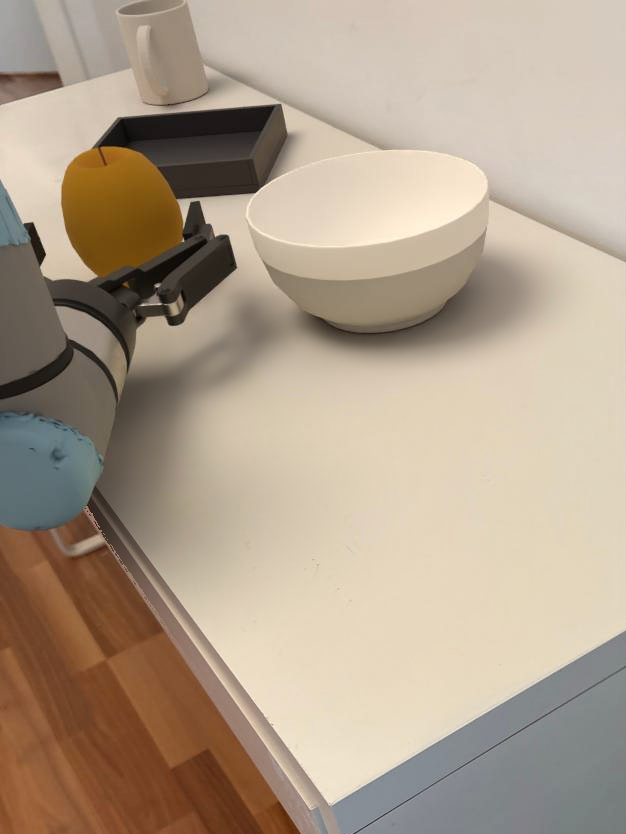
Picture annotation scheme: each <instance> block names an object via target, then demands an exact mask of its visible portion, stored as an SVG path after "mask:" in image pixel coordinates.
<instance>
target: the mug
mask: <svg viewBox="0 0 626 834" xmlns="http://www.w3.org/2000/svg"><path fill="white" fill-rule="evenodd" d="M115 17H116V20H117V24H118V28H119V30H120V33H121V37H122V40H123V43H124V47H125V50H126V54H127V57H128V60H129V63H130V66H131V70H132V73H133V76H134V80H135V83H136V86H137V90H138V93H139V97H140V100H141V102H143V103H145V104H148V105H152V106H169V105H176V104H182V103H186V102H190V101H193V100H195V99H198V98H200V97H202V96H204V94H206V93H208V91H209V89H210V86H209V82H208V79H207V75H206V74H207V73H206V70H205V67H204V63H203V58H202V56H201V52H200V47H199V43H198V39H197V35H196V32H195V27H194V23H193V20H192V16H191V12H190V8H189V4H188V1H187V0H135V1H132V2H129V3H126V4H123V5H121V6H119V7H118V8H117V9H116V10H115ZM168 104H169V105H168Z"/></svg>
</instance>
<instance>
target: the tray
mask: <svg viewBox="0 0 626 834" xmlns="http://www.w3.org/2000/svg"><path fill="white" fill-rule="evenodd" d="M287 129H288V128H287V123H286V119H285V114H284V109H283V105H282V103H272V104H261V105H248V106H236V107H235V106H234V107H226V108H225V107H223V108H213V109H212V108H211V109H201V110H190V111H188V110H187V111H178V112H177V111H176V112H165V113H153V114H142V115H141V114H140V115H129V116H118V117H117V118H116V119H115V120H113V123H112V124H111V125H110V126H109V127H108V128H107V130H106V131H105V132H104V133H103V134H102V136H101V137H100V138H99V139H98V140H97V141H96V142H95V144H94V145H93V146H92V147H91V148H90V150H91V149H94V148H99V147H121V148H127V149H130V150H133V151H136V152H139V153H142V154H143V155H144V156H145V157H146V158H147V159H148V160H149V161H150V162H151V163H153V164H154V165H155V166H156V167H157V169H158V170H159V171H160V173H161V174H162V175H163V177H164V178H165V179H166V181H167V182H168V184H169V186H170V188H171V190H172V192H173V194H174V196H175V198H176V200H178V199H189V198H197V197H198V198H201V197H214V196H228V195H240V194H252V193H253V194H255V193H257V192H258V191H259V190H260V189H261V188H262V187H264V186H265V185H266V181H267V179H268V178H269V175H270V173H271V171H272V168H273V167H274V164H275V162H276V160H277V158H278V156H279V154H280V151H281V149H282V147H283V145H284V143H285V141H286V138H287V137H288V130H287Z"/></svg>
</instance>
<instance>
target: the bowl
mask: <svg viewBox="0 0 626 834" xmlns="http://www.w3.org/2000/svg"><path fill="white" fill-rule="evenodd" d="M489 217H490V183H489V180H488V178H487V176H486V173H485V172H484V171H483V170H482V169H481V168H480V167H478V166H477V165H476V164H474V163H473V162H470V161H469V160H467V159H465V158H461V157H458V156H455V155H452V154H449V153H448V154H447V153H443V152H437V151H433V150H420V149H419V150H418V149H386V150H385V149H384V150H371V151H364V152H356V153H349V154H345V155H341V156H340V155H339V156H335V157H331V158H326V159H322V160H319V161H315V162H312V163H309V164H305V165H302V166H301V167H298V168H295V169H293V170H290V171H288V172H286V173H283V174H281V175H280V176H278V177H275V178H274V179H272V180H271V181H269V182H268V183H265V184H264V186H263V187H262V188H261V189H260V190H259V191H258V192H255V193H254V195H252V197H251V198H250V199H249V201H248V203H247V205H246V207H245V222H246V224H247V227H248V231H249V234H250V236H251V239H252V243H253V246H254V249H255V251H256V253H257V255H258V257H259V258H260V260H261V261H262V263H263V266H264V267H265V269H266V271H267V273H268V275H269V277H270V279H271V280H272V283H273V284H274V285H275V286H276V287H277V288H278V289H279V290H281V291H282V292H283V294H285V295H286V296H287V297H288V298H289V299H290V300H291V301H292V302H293V303H294V304H296V305H297V306H298V307H299V308H300V309H301V310H302V311H305V312H307V313H308V314H310V315H313V316H315V317H317V318H321V319H322V320H324V322H325V323H327V324H328V325H330V326H332V327H334V328H336V329H339V330H342V331H344V332H345V331H346V332H352V333H360V334H361V333H362V334H378V333H379V334H380V333H388V332H393V331H399V330H403V329H408V328H410V327H413V326H416V325H419V324H421V323H423V322H425V321H427V320H429V319H431V318H433V317H434V316H435V315H437V314H438V313H439V312H440V311H441V310H442V309H443V308H444V307H445V306H446V304H447V302H448V300H449V299H451V298H452V297H453V296H455V295H456V294H458V293H459V292H460V291H461V289H462V288H463V287H465V285H466V284H467V282H468V280H469V278H470V276H471V274H472V273H473V271H474V269H475V268H476V266H477V264H478V262H479V260H480V259H481V257H482V255H483V254H484V253H483V252H484V248H485V242H486V236H487V230H488V225H489Z"/></svg>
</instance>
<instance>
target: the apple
mask: <svg viewBox="0 0 626 834" xmlns="http://www.w3.org/2000/svg"><path fill="white" fill-rule="evenodd" d="M60 190H61V192H60V193H61V194H60V207H61V212H62V217H63V223H64V229H65V232H66V235H67V237H68V240H69V242H70V245H71V247H72V248H73V250H74V251H75V253H76V254H77V256H78V257H79V258H80V260H81V262H82V263H83V264H84V265H85V266H86V268H88V269H89V270H90V271H91V272H92V273H94V275H95V276H96V277H105V276H107V275H109V274H111V273H113V272H114V271H116V270H118V269H120V268H122V267H124V266H126V265H128V266H132V267H138V266H140V265H142V264H144V263H145V262H147V261H149V260H151V259H153V258H154V257H156V256H158V255H160V254H162V253H164V252H165V251H167V250H169V249H171V248H173V247H175V246H176V245H178V244H180V243H182V242H184V239H183V235H182V233H183V229H184V219H183V214H182V210H181V206H180V203H179V202H178V199H176V198H175V196H174V194H173V192H172V190H171V188H170V186H169V184H168V182H167V181H166V179H165V178H164V177H163V175H162V174H161V173H160V171H159V170H158V169H157V167H156V166H155V165H154V164H153V163H151V162H150V161H149V160H148V159H147V158H146V157H145V156H144V155H143V154H142V153H139V152H136V151H133V150H130V149H127V148H121V147H99V148H94V149H91V148H90V149H88V150H86V151H83V152H82V153H80V154H78V155H77V156H74V158H73V159H72V160H71V162H70V163H69V164H68V165H67V166H66V169H65V171H64V175H63V179H62V182H61V189H60ZM123 285H124V286H126V287H128V288H129V286H128V283H127V282H125V283H124V284H123ZM129 289H130V288H129Z"/></svg>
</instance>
